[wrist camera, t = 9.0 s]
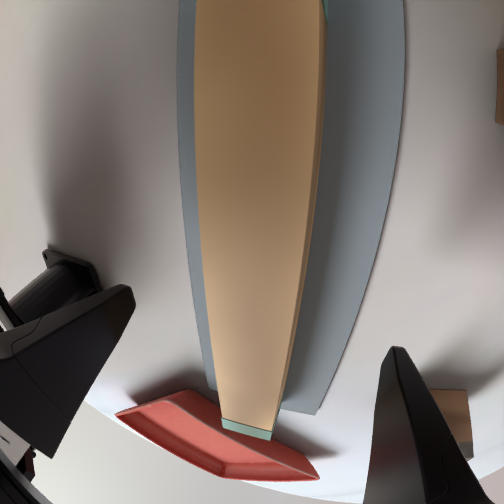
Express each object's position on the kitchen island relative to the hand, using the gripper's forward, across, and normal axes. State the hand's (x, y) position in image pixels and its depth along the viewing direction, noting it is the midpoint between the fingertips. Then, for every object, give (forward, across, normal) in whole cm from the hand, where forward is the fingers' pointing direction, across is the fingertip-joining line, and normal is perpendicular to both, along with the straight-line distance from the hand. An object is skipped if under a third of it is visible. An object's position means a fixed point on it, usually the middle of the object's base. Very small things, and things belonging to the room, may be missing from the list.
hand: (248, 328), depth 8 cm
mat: (+4, 0, 0) cm, 4 cm away
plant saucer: (+5, +5, +24) cm, 25 cm away
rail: (+4, 0, 0) cm, 4 cm away
